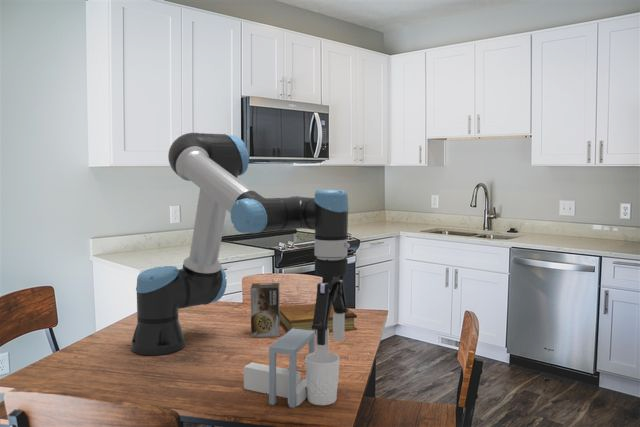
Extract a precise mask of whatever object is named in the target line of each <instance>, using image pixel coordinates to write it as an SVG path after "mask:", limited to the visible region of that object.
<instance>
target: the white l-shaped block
mask: <svg viewBox="0 0 640 427" xmlns="http://www.w3.org/2000/svg"><path fill="white" fill-rule="evenodd" d="M243 389H244V390H249V391H254V392H257V393H263V394H266V393H267V395H269V364H268V365H267V364H262V363H258V362H252V361H251V362H250V363H248V364H246V365H245V366H243ZM276 397H279V398H280V397H281V398H285V399H287V405H289V369H288V368H285V367H280V366H276ZM306 399H308V395H307V384H306V377H305V378H303V379H301V371H300V370H297V371H296V406H295V407H298V406H300V405H301V404H302V403H303V402H304V401H305V400H306Z"/></svg>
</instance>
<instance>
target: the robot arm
mask: <svg viewBox="0 0 640 427" xmlns="http://www.w3.org/2000/svg"><path fill="white" fill-rule="evenodd" d="M167 156H168V157H167V159H168V164H169V166H170V168H171V169H172V171H173V172H174V173H175V174H176V175H177V176H178V177H180V178H181V179H182V180H184V181H187V182H191V183H193V184H194V185H195V186H197V187H198V188H199V194H198V199H197V200H198V201H197V205H196V212H195V219H194V224H193V225H194V226H193V232H192V238H191V246H190V251H189V256H188V257H186V258H184V260H183V264H182V268H181V269H179V268H178V267H177V266H174V265H165V266H164V265H163V266H156V267H151V268H147V269H145V270H143V271H141V272H140V273H139V274H138V276H137V278H136V287H135V291H136V311H137V312H136V313H137V314H136V315H137V318H136V319H137V321H136V326H135V330H134V333H133V336H132V339H131V351H132V352H133V353H135V354H137V355H143V356H160V355H161V356H162V355H167V354H172V353H175V352H179V351H181V350H182V349H183V348H185V344H186V342H185V340H186V339H185V335H184V333H183V329H182V327H181V323H180V322H179V310H180V309H185V308H191V307H197V306H201V305H203V306H204V305H205V306H206V305H209V304H211V303H216V302H218V301H220V299H221V298H223V296H224V295H225V292H226V289H227V282H228V281H227V278H226V277H227V275H226V271H225V269H224V268H223V267H222V263H221V262H220V261H219V257H220V256H219V255H220V251H221V250H220V249H221V245H222V244H221V243H222V238H223V234H224V233H223V231H224V227H225V221H226V215H227V214H226V213H227V212H229V214H230V220H231V223H232V224H233V228H234V229H235V230H236V231H238V232H239V233H241V234H258V233H264V232H275V231H285V230H287V231H288V230H298V229H299V230H300V229H302V230H314V256H315V259H314V274H315V275H316V276H319V277H321V278H322V282H319V283H317V285H316V298H315V304H316V305H315V312H314V319H313V325H312V329H316V334H315V352H316V358H319V359H329V352H330V347H329V346H330V345H329V344H330V341H329V339H330V333H329V329H327V327H328V322H329V317H330V312H331V307H332V305H333V308H334V312H336V313H333V332H332V340H333V341H340V342H341V341H342V342H344V341H345V331H344V315H345V314H343V313H348V309H349V308H348V304H347V302H348V301H347V296H346V289H345V288H346V287H345V280H344V279H345V276H346V275H347V274H348V272H349V271H348V265H349V264H348V263H349V261H348V260H349V259H348V258H346V257H347V256H348V248H350V246H351V245H350V243H349V242H348V239H349V238H348V237H349V236H348V233H349V232H348V230H349V229H348V227H349V223H348V221H349V200H348V193H347V191H346V190H344V189H317V190H315V192H314V197H308V196H307V197H306V196H305V197H304V196H300V195H299V196H297V195H295V196H293V195H291V196H286V197H268V198H267V197H263V196H262V195H261V194H259V193H258V192H256V191H255V190H254V189H252V188H251V187H250V186H248V185H247V184H245V183H244V182H243V181H241V180H240V179H238V177H239V176H242V175H244V174H245V172H247V170H248V167H249V161H250V159H249V157H250V156H249V152H248V149H247V145H246V143H245V142H244V141H243V139H241V138H240V137H239V136H237V135H230V134H226V133H204V132H203V133H202V132H201V133H199V132H187V133H185V134H182V135H180V136H178V137H177V138H176V139H175V140H174V141H173V142H172V144H171V145H170V147H169V150H168V155H167ZM320 323H322V324H320Z"/></svg>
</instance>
